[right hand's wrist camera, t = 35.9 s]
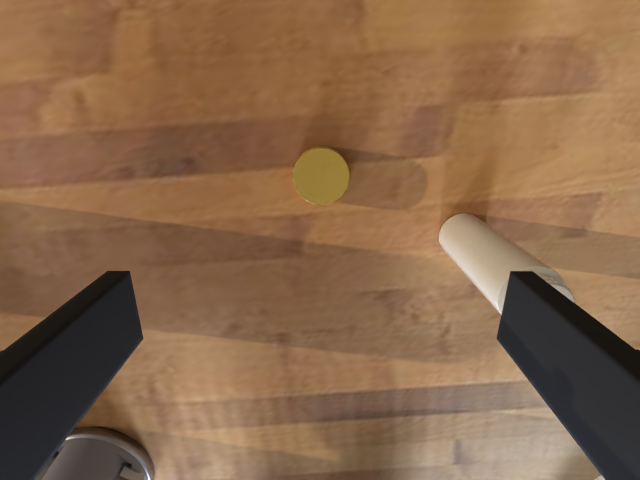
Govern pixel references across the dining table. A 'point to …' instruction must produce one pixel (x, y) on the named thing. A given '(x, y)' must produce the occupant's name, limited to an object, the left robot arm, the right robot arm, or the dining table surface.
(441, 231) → the jar
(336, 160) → the lid
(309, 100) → the dining table surface
